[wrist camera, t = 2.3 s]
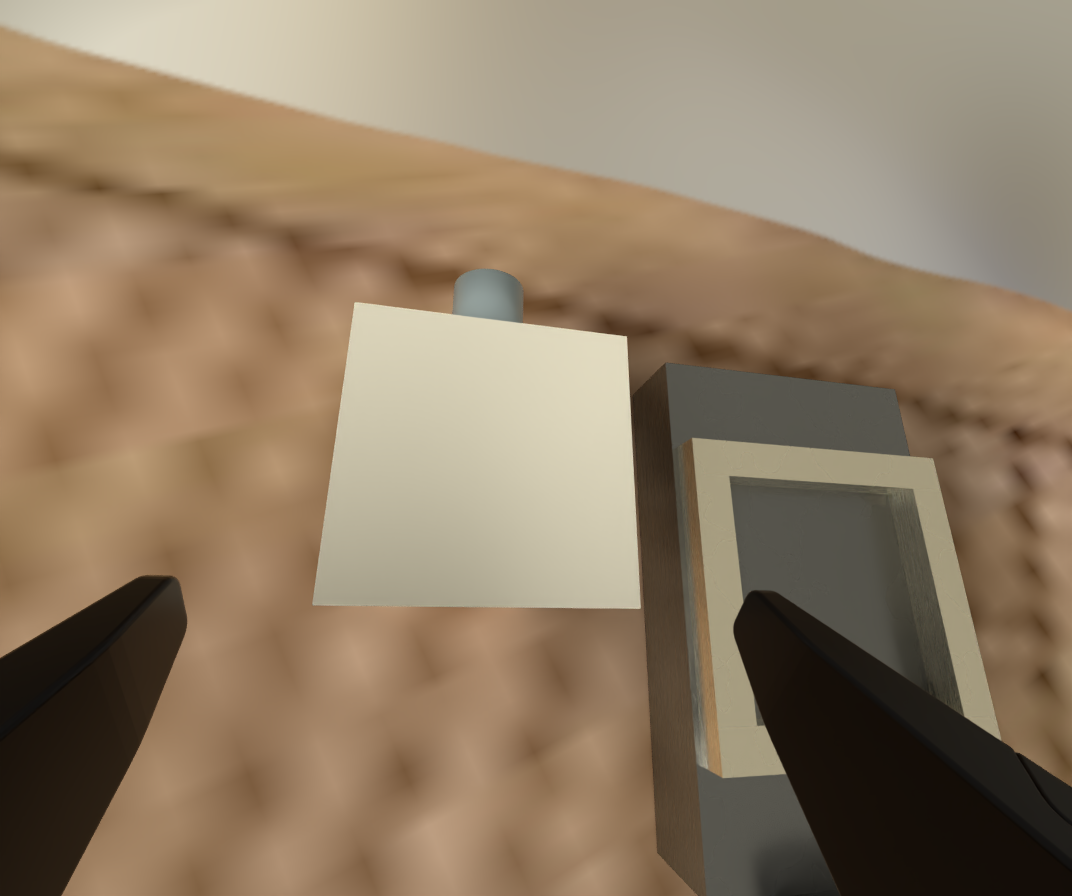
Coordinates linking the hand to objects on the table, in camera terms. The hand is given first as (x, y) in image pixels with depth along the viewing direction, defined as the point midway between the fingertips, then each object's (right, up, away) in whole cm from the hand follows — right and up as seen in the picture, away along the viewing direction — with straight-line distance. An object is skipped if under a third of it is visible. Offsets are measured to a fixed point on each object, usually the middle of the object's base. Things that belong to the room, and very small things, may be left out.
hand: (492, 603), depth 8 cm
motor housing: (+10, -6, +11) cm, 16 cm away
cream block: (-2, 0, +10) cm, 10 cm away
